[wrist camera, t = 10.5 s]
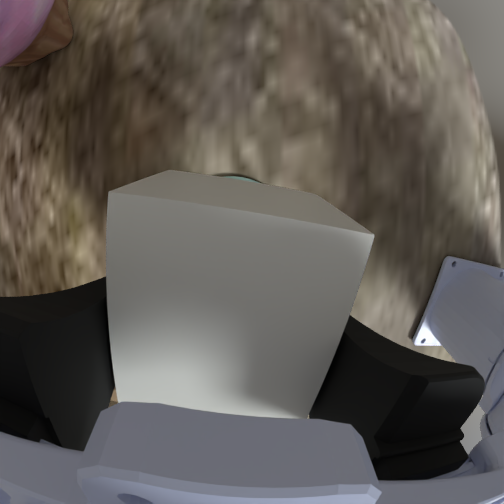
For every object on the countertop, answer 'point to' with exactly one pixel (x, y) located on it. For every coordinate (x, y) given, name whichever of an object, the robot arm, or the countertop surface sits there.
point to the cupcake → (32, 30)
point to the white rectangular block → (227, 292)
